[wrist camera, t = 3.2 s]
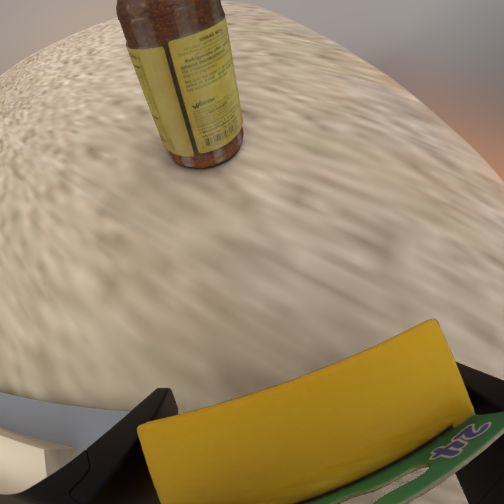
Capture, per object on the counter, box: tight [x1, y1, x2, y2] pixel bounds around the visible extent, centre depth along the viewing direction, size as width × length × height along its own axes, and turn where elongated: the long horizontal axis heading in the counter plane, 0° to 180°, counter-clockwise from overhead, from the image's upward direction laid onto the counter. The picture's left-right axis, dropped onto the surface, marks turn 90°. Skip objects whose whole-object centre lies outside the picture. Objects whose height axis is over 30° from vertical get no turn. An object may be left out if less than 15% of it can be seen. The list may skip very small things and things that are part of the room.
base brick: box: [0, 427, 78, 494], centre depth 9 cm, size 9×9×3 cm
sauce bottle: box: [116, 0, 243, 168], centre depth 15 cm, size 7×6×20 cm
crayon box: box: [137, 319, 504, 504], centre depth 9 cm, size 7×3×12 cm, turn 108°
